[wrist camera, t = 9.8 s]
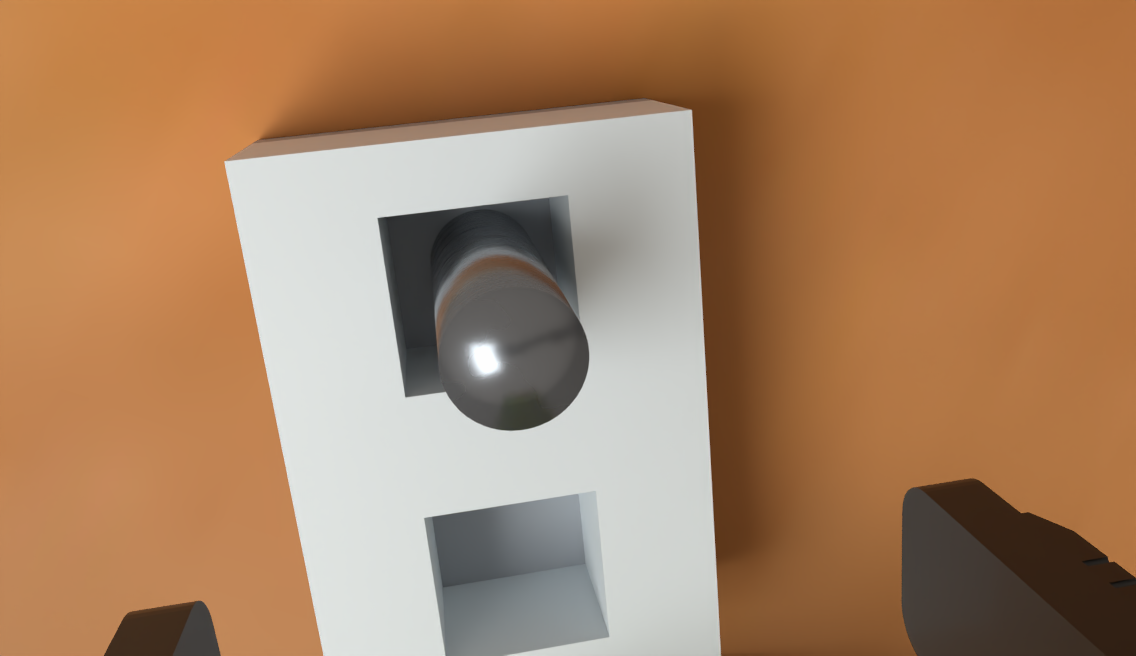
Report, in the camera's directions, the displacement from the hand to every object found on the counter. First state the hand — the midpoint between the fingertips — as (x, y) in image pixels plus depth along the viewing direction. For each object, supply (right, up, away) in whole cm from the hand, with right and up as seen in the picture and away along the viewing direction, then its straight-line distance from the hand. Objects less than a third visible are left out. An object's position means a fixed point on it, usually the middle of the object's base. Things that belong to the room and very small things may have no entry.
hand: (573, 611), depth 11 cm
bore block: (-3, +2, +19) cm, 19 cm away
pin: (-3, +5, +16) cm, 18 cm away
